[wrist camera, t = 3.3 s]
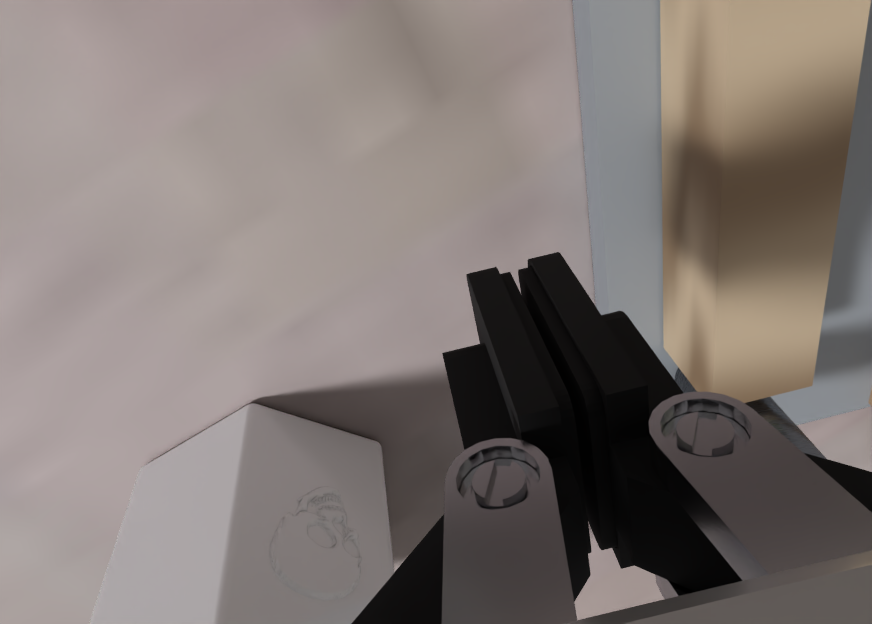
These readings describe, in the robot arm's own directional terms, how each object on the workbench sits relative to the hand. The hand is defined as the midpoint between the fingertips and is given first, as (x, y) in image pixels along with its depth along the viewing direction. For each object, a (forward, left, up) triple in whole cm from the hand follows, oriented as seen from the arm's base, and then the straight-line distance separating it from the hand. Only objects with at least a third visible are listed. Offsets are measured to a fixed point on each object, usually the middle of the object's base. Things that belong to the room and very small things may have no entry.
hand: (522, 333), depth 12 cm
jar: (+10, -8, -7) cm, 15 cm away
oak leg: (0, +7, -6) cm, 9 cm away
